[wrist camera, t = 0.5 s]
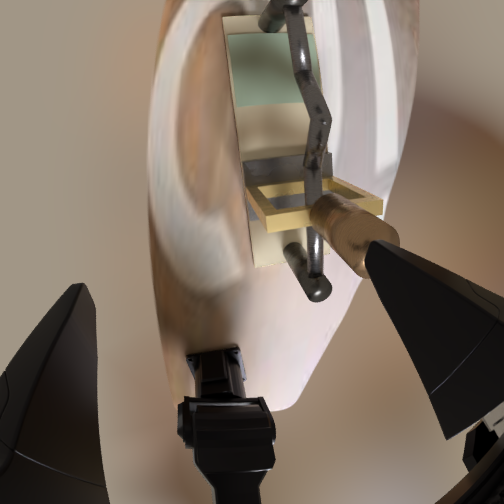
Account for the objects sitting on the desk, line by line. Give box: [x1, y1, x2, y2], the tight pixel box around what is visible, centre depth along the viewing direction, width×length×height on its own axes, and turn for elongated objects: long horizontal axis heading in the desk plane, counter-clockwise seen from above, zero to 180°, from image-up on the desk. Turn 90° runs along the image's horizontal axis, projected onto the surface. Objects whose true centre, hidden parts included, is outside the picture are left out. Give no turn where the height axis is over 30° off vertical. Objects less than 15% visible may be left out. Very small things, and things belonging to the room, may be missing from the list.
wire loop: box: [241, 152, 400, 279], centre depth 17 cm, size 5×8×13 cm, turn 96°
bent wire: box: [258, 0, 332, 302], centre depth 17 cm, size 23×2×8 cm, turn 6°
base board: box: [222, 15, 330, 268], centre depth 21 cm, size 23×8×1 cm, turn 6°
